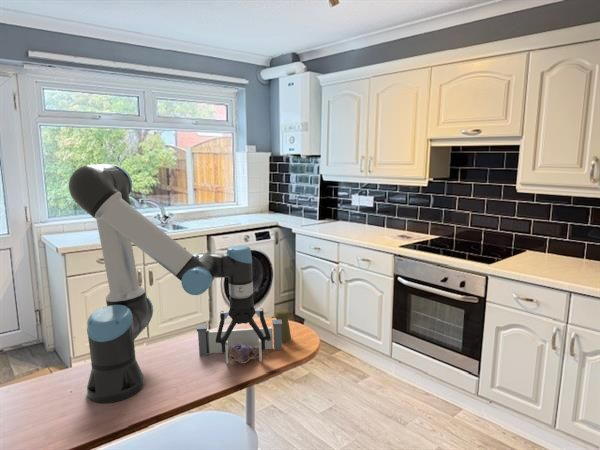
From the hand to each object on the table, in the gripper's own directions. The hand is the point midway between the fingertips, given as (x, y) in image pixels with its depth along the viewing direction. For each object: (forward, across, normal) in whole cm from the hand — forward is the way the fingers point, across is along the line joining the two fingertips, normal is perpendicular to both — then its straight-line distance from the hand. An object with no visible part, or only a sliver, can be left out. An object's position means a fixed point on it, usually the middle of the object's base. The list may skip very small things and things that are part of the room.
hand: (244, 360), depth 137 cm
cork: (+1, +14, +16) cm, 21 cm away
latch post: (+1, +12, +8) cm, 14 cm away
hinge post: (+1, -14, +8) cm, 16 cm away
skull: (+1, +1, +1) cm, 1 cm away
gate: (+1, -1, +8) cm, 8 cm away
